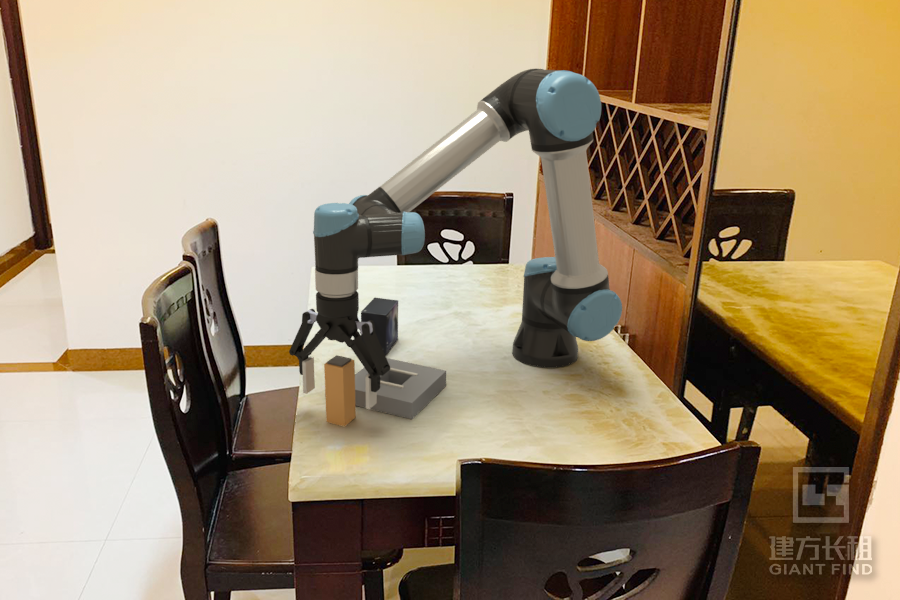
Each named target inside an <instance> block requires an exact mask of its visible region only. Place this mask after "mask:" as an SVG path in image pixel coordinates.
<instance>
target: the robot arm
mask: <svg viewBox="0 0 900 600" xmlns="http://www.w3.org/2000/svg"><path fill="white" fill-rule="evenodd" d="M601 115H602V100H601V96H600V93H599V90H598V89H597V87H596V86H595V84H594V83H593V82H592V81H591V80H590V79H589V78H587V77H586V76H585V75H582V74H580V73H576V72H573V71H570V70H564V69H563V70H558V69H557V70H556V69H543V68H530V69H526V70H523V71H520V72H518V73H517V74H514V75H513V76H511V77H510V78H508V79H507V80H506V81H504V82H503V83H501V84H499V86H497V87H496V88H495V89H493V90H492V91H491V92H490V93H488V94H487V95H486V96H484V97H483V98H482V99H481V100H479V101H477V105H476V110H475V111H474V112H473V113H471V114H470V115H469V116H468V117H466V118H465V119H463V121H461V122H460V123H458V124H457V125H456V126H455V127H453V128H452V129H451V130H449V132H447V133H446V134H445V135H443V136H442V137H441V138H439V140H437V141H436V142H434V143H433V144H432V145H431V146H429V147H427V149H426V150H425V151H423V152H422V153H420V154H419V155H418V156H417V157H415V158H414V159H413V160H412V161H411V162H409V163H408V164H407V165H406V166H404V167H402V169H400V170H399V171H398V172H396V173H395V174H394V175H392V177H389V179H387V180H386V181H385V182H384V183H382V184H381V185H380V186H378V187H377V188H376V189H374V190H373V191H372V192H371V193H369V194H363V195H358V196H355V197H354V198H352V199H351V200H350V201H349V203H345V202H342V203H341V202H339V203H338V202H331V203H323V204H320V205H318V206H317V207H316V209H315V210H314V212H313V213H314V214H313V215H314V217H313V230H312V234H313V241H314V243H313V244H314V245H313V246H314V261H315V262H314V263H315V265H314V267H315V268H314V271H315V272H314V275H315V279H314V280H315V281H314V282H315V291H316V293H315V302H316V303H315V305H316V308H315V309H316V310H315V309H314V308H310V309H309V310H306V311H304V312H303V313H302V316H301V324H300V326H299V328H298V331H297V333H296V335H295V338H294V340H293V342H292V345H291V347H290V348H289V352H288V353H289V355H290V356H295V357H296V358H297V360H298V367H299V368H298V369H299V370H298V371H299V374H300V375H301V376H302V389H303V392H302V393H303V394H306V395H307V394H308V393H310V392H312V391H313V390H314V389H315V388H316V386H315V382H316V381H315V359H314V356H311V355H312V353H313V352H314V351H315V350H316V349H317V347H319V345H320V344H321V343H322V342H323V341H324V340H325V339H326V338H327V340H328V341H336V342H337V343H338V342H339V343H342V344H343V343H345V345H346V346H347V347H348V348H350V350H352V353H354V354H355V356H356V357H357V359H358V360H359V361H360V362H359V363H361V364H362V366H363V368H364V367H365V369H366V370H367V372H368V373H369V374H368V375H367V376H365V377H366V408H365V409H366V410H371V409H370V408H372V407H373V406H374V405H375V404H376V403H377V391H378V390H379V389H380V375H381V376H383V375H384V374H385V373H387V372H388V371H389V370H390V365H389V363H388V361H387V358H388V357H386V356H387V355H386V356H385V354H384V352H383V349H382V347H381V345H380V342H379V340H378V338H377V335H376V333H375V326H374V322H373V321H372V320H370V321H368V322H361V320H360V319H359V317H358V314H359V309H360V308H359V306H360V305H359V303H360V301H359V300H360V299H359V292H358V291H357V290H358V289H359V259H361V258H362V259H363V258H376V257H389V256H406V255H410V254H417V253H419V252H420V251H421V250H422V249H423V247H424V245H425V239H426V238H425V237H426V233H425V232H426V231H425V225H424V221H423V218H422V217H421V215H420V214H419V213H417V212H412V211H413V210H414V209H415V208H417V207H418V206H419V205H420V204H422V203H423V202H424V201H425V200H427V199H428V198H429V197H430V196H432V195H433V194H434V193H435V192H437V191H438V190H439V189H440V188H442V187H444V186H445V185H446V184H447V183H448V182H449V181H451V180H452V179H453V178H455V177H456V176H457V175H459V174H460V173H461V172H463V170H465V169H466V168H467V167H469V166H470V165H471V164H473V163H474V162H475V161H476V160H478V159H479V158H480V157H481V156H482V155H484V154H485V153H487V152H488V151H489V150H491V148H492V147H494V146H495V145H496V144H498V143H499V142H505V143H506V142H509V141H510V140H512V138H514V137H515V136H518V135H520V134H521V133H523V132H527V131H528V134H529V139H530V141H529V142H530V147H531V151H532V153H534V154H536V155H537V156H538V157H540V160H541V167H542V175H543V181H544V188H545V189H544V190H545V195H546V203H547V210H548V216H549V224H550V230H551V231H550V232H551V237H552V245H553V251H554V256H545V257H536V258H533V259H530V260H528V261H527V263H525V268H524V273H523V293H522V312H521V323H520V325H519V327H518V330H517V332H516V335H515V337H514V339H513V342H512V349H511V350H512V351H511V353H512V355H513V357H514V358H515V359H516V360H518V361H520V362H521V363H524V364H527V365H529V366H533V367H539V368H547V369H549V368H551V369H552V368H554V369H555V368H564V367H567V366H570V365H572V364H574V363H575V362H577V361H578V357H579V345H578V341H577V339H580V340H582V341H584V342H594V341H599V340H601V339H603V338H605V337H606V336H608V335H609V334H610V333H611V332H612V331H613V330H614V328H615V327H616V326H617V325H618V323H619V322H620V320H621V317H622V313H623V303H622V300H621V297H619V295H618V294H617V293H616V291H614V290H611V288H610V287H611V286H610V278H609V272H608V269H607V268H606V267H605V266H604V265H602V264H601V263H600V260H599V259H600V258H599V251H598V250H599V249H598V243H597V242H598V240H597V234H596V233H597V232H596V226H595V225H596V224H595V216H594V207H593V199H592V189H591V181H590V173H589V163H588V155H587V150H588V148H589V147H590V145H591V144H592V143H593V142H594V135H593V132H594V131H595V130H596V128H597V123H598V122H600V119H601ZM315 323H317V325H318V327H319V328H320V329H319V330H318V331H317V332H316V333H315V334H314V336H313V337H312V339H311V340H310V341H309V342H307V344H306V345H305V343H306V341H307V339H308V337H309V335H310V333H311V330H312V328H313V327H314V325H315ZM358 330H359V331H358ZM361 334H362V335H363V339H364V342H365V344H366V345H365V344H364V342H363V341H362V336H361ZM352 337H353V339H352ZM304 345H305V346H304ZM366 346H367V347H366Z"/></svg>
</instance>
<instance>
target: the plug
mask: <svg viewBox="0 0 900 600" xmlns="http://www.w3.org/2000/svg"><path fill="white" fill-rule="evenodd" d="M355 363H356V362H355V359H352V358H351V357H346V356H342V355H337V354H336V355H335V356H333V357H332V358H330V359H329V360H327V361H326V362H325V363H323V365H324V366H323V367H324V369H323V370H324V371H323V372H324V389H325V390H324V391H325V394H324V395H325V413H326V415H325V416H326V417H325V419H326V420H325V421H326V423H329V424H332V425H335V426H341V427H346V426H347V425H348V424H350V423H351V422H352V421H353V420H354V419H356V417H357V416H356V413H357V412H356V411H357V410H356V409H357V406H355V374H356V372H355V371H356V370H355Z"/></svg>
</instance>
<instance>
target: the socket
mask: <svg viewBox="0 0 900 600" xmlns="http://www.w3.org/2000/svg"><path fill="white" fill-rule="evenodd" d="M386 358H387V361H388V363H389V365H390V370H389V371H388V372H387V373H385V374H384V375H383V376H381V375H380V389H379V390H378V391H377V403H376V404H375V405H374V406H373V407H372V408H370V409H369V410H372V411H376V412H380V413H385V414H389V415H393V416H397V417H401V418H405V419H409V420H413V419H414V418H415V417H416V415H418V414H419V413H420V412H421V411H422V410H423V409H424V408H425V407H426V406H427V405H428V404H429V403H430V402H431V401H433V399H434V398H435V397H436V396H437V395H438V394H439V393H440V392H441V391H442V390H443V389H444V388H446V386H447V370H445V369H440V368H437V367H431V366H427V365H421V364H417V363H412V362H409V361H404V360H398V359H393V358H389V357H386ZM368 374H369V373H368V372H367V370H366V369H365V367H364V366H363V368H361V369H360V370H359V371H357V372H355V407H360V408H363V409H366V377H365V376H367V375H368Z"/></svg>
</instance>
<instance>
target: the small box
mask: <svg viewBox="0 0 900 600" xmlns="http://www.w3.org/2000/svg"><path fill="white" fill-rule="evenodd" d="M370 320H372V321H373V322H374V326H375V333H376V335H377V338H378V340H379V342H380V345H381V347H382V349H383V352H384V354H385V356H387V355H388V354H389V352H390V351H391V349H392V348H394V346H395V345H396V344H397V342H398V340H399V300H397V299H389V298H383V297H381V298H380V297H374V298H373V299H372V300H371V301H370V302H368V304H367V305H366V306H365V307H364V308H363V309H362V310H361V311H360V322H368V321H370ZM360 335H361V336H362V341H363V342H364V339H363V335H362V334H360ZM364 344H365V342H364ZM365 345H366V344H365ZM366 347H367V346H366Z"/></svg>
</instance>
